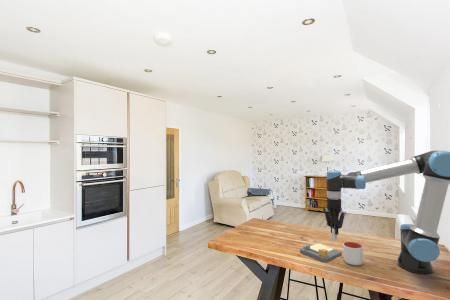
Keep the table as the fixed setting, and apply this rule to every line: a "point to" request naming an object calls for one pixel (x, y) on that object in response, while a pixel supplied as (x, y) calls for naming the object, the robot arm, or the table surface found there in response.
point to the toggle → (323, 252)
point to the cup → (353, 253)
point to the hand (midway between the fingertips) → (334, 239)
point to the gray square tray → (314, 252)
